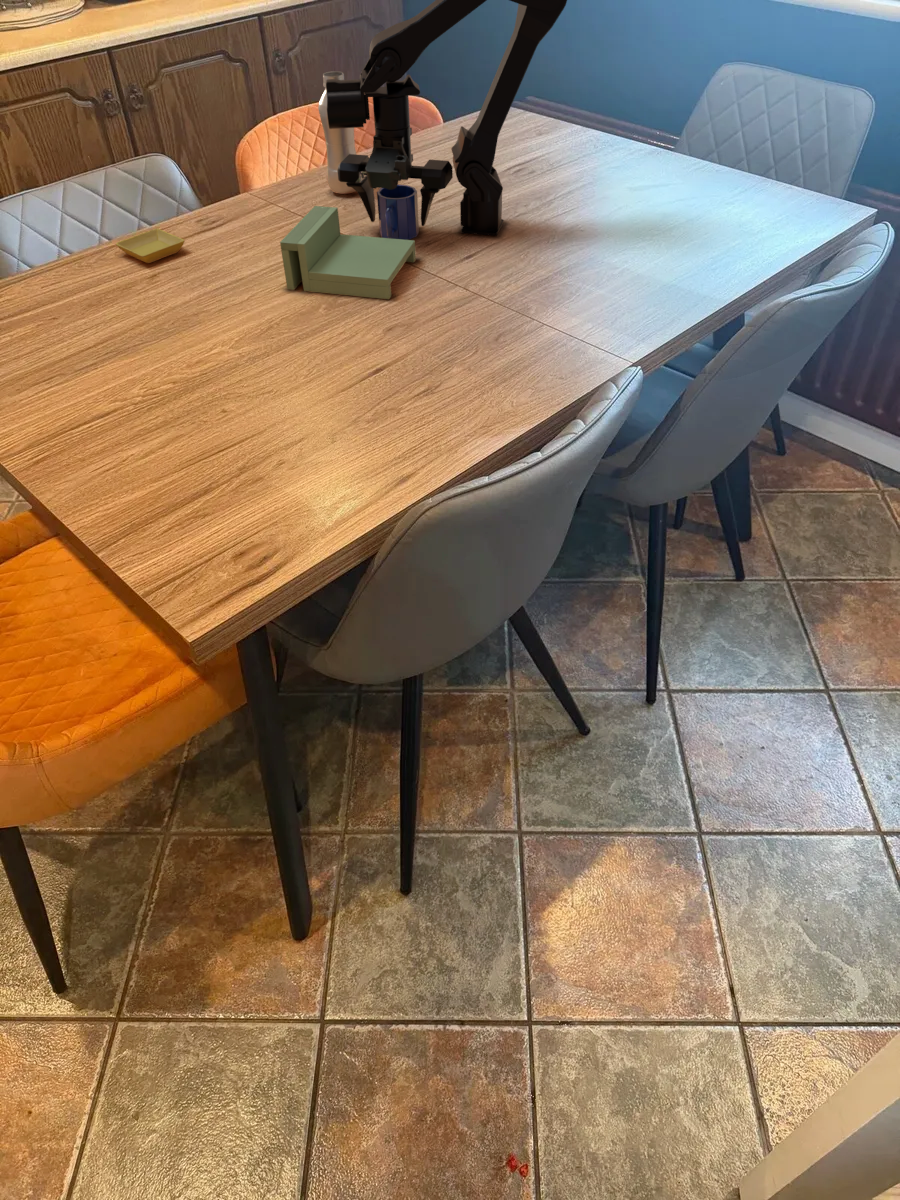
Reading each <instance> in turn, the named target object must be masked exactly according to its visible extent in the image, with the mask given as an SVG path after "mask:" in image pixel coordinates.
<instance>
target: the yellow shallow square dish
mask: <svg viewBox="0 0 900 1200" xmlns="http://www.w3.org/2000/svg"><path fill="white" fill-rule="evenodd" d="M185 241H186V240H185V239H184V238H182V237H179V236H177V235H175V234H172V233H169V232H168V231H166V230H163V229H161V228H154V229H150V230H148V231H145V232H142V233H138V234H137V235H134V236H132V237H129V238H126V239H122V240H120V241H117V242H116V243H115V246H117V247H118V249H120V250H122V252H124V253H125V254H127V255H128V256H131V257H133V258H135V259H137V260H139V261H142V262H143V263H146V264H151V263H153V262H156V261H158V260H162V259H163V258H166V257H169V256H171V255H174V254H176V253H178V252H179V251H180V250H181V249H182V247H183V246H184V244H185Z"/></svg>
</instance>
